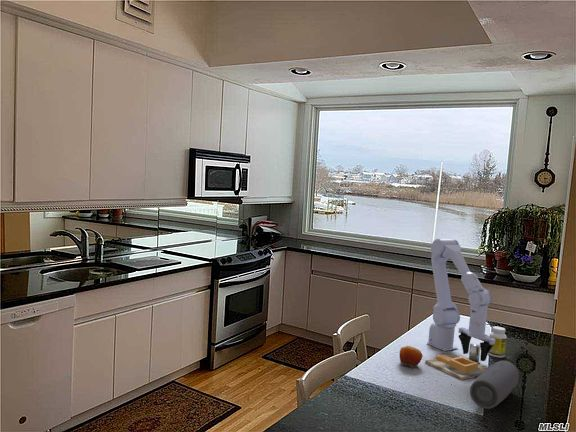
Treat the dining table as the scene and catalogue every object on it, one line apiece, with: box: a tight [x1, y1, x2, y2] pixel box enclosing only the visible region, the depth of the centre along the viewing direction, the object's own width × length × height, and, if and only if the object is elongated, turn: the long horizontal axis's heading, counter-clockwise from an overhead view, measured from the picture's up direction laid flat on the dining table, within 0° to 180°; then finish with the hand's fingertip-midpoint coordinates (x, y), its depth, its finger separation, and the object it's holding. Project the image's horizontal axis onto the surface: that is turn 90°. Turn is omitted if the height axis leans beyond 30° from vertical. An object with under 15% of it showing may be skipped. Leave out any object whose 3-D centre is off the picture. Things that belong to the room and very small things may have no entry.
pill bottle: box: [488, 325, 507, 359], centre depth 187 cm, size 6×6×11 cm
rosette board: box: [424, 353, 488, 381], centre depth 172 cm, size 17×16×1 cm
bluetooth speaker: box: [469, 360, 520, 410], centre depth 147 cm, size 23×9×10 cm, turn 141°
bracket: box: [435, 353, 479, 373], centre depth 172 cm, size 14×7×3 cm, turn 33°
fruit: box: [399, 345, 424, 370], centre depth 171 cm, size 8×8×8 cm
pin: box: [468, 343, 481, 363], centre depth 180 cm, size 4×4×6 cm
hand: (474, 356), depth 180 cm, fingers open, 7 cm apart
